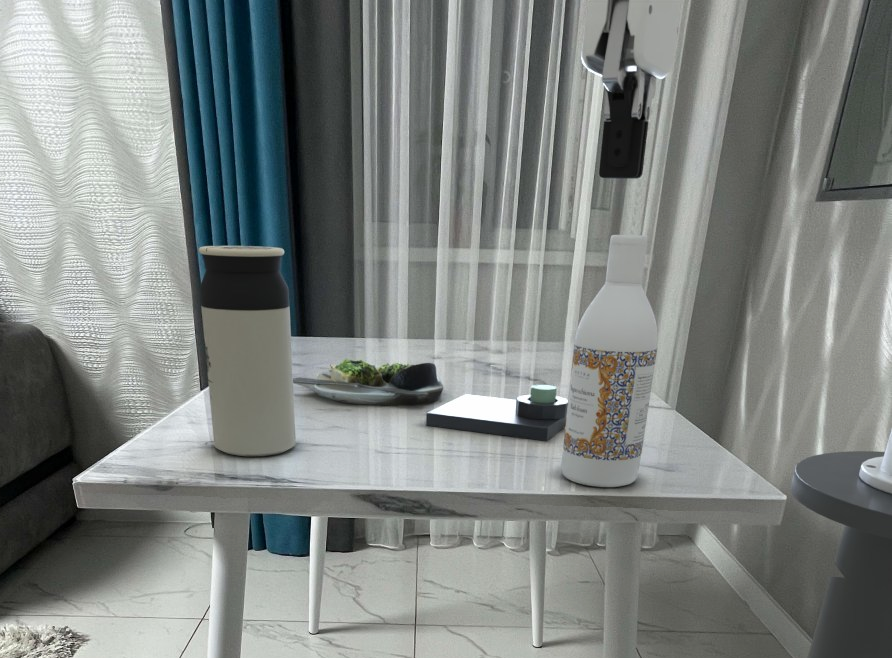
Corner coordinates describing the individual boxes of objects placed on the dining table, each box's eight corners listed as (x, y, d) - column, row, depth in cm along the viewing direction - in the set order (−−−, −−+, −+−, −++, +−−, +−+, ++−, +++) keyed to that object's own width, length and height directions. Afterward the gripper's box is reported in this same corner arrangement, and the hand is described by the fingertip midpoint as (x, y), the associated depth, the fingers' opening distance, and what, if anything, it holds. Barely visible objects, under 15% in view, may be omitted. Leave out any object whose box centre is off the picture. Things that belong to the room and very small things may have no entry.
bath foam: (544, 472, 75) (568, 233, 66) (602, 463, 78) (631, 234, 69) (593, 493, 70) (626, 236, 61) (653, 482, 73) (692, 237, 64)
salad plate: (286, 408, 96) (284, 368, 94) (297, 379, 112) (295, 345, 110) (448, 410, 98) (449, 370, 96) (436, 381, 114) (437, 347, 112)
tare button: (558, 402, 91) (559, 386, 90) (551, 406, 89) (552, 390, 88) (534, 399, 92) (535, 383, 91) (526, 404, 90) (528, 387, 89)
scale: (578, 419, 95) (581, 393, 94) (549, 441, 85) (552, 413, 84) (465, 405, 100) (466, 380, 99) (425, 425, 91) (426, 398, 89)
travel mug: (306, 440, 84) (298, 247, 75) (281, 460, 77) (269, 251, 68) (232, 434, 85) (216, 244, 76) (201, 454, 78) (180, 247, 69)
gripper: (629, -75, 66) (604, 181, 74) (566, -138, 54) (544, 174, 63) (724, -88, 63) (686, 181, 71) (679, -159, 51) (640, 173, 60)
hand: (620, 177), depth 67 cm, fingers closed
